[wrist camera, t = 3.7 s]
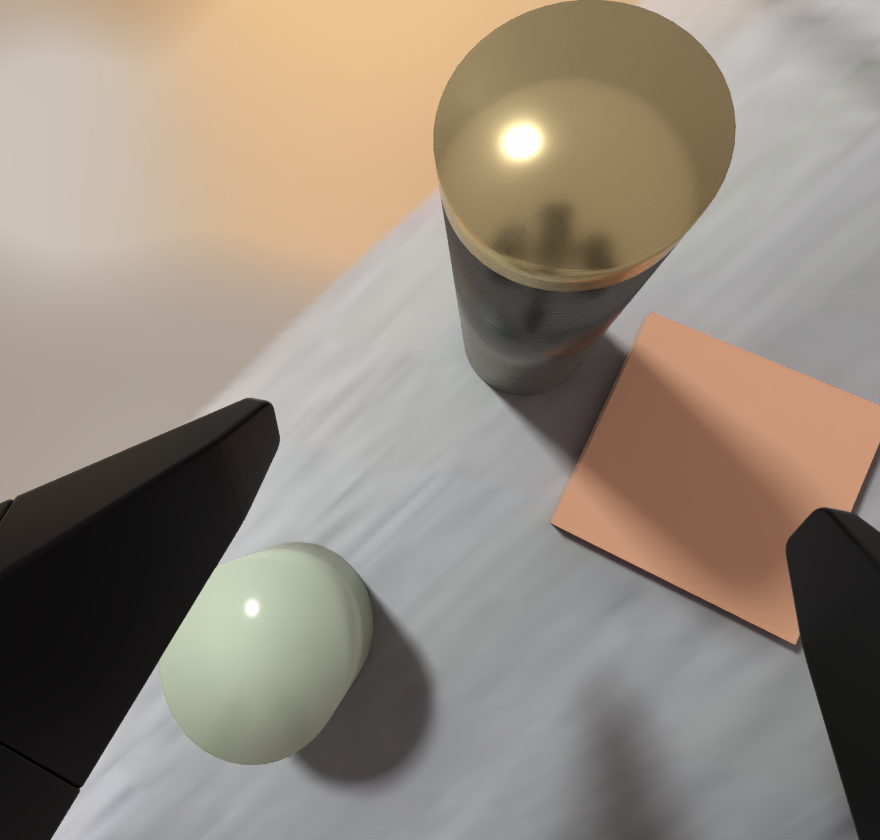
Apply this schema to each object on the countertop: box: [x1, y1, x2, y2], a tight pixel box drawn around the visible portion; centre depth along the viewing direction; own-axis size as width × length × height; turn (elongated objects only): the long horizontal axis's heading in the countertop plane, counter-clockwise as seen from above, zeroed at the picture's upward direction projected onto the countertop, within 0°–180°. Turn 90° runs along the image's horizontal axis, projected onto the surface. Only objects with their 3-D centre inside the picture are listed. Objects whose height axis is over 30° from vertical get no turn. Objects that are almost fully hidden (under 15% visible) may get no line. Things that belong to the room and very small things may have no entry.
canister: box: [434, 0, 736, 395], centre depth 14 cm, size 5×5×12 cm
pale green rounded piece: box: [160, 542, 374, 765], centre depth 18 cm, size 7×7×4 cm
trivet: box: [550, 312, 880, 645], centre depth 19 cm, size 10×10×1 cm
